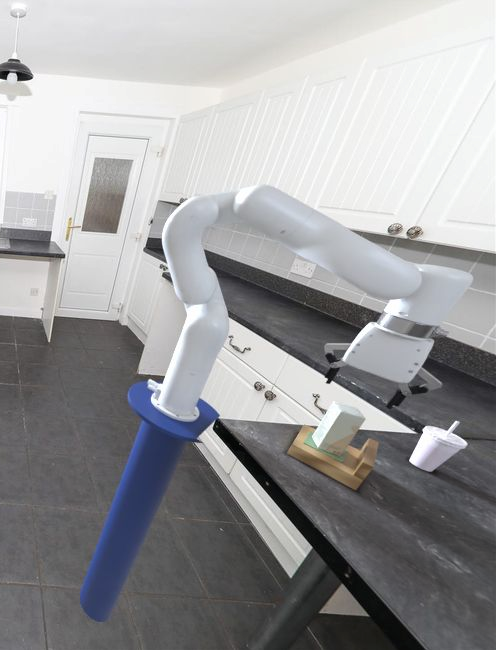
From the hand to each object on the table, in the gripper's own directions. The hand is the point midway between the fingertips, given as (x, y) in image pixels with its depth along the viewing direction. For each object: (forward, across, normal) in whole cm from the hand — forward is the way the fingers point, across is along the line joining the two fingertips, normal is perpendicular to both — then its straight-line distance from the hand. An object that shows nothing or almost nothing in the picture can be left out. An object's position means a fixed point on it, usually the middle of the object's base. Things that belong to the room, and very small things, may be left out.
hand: (357, 393), depth 74 cm
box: (+16, -1, 0) cm, 16 cm away
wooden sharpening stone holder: (+18, -2, 0) cm, 19 cm away
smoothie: (+18, -17, -20) cm, 32 cm away
